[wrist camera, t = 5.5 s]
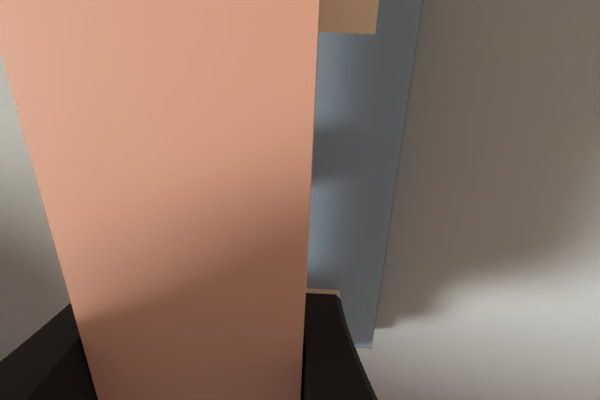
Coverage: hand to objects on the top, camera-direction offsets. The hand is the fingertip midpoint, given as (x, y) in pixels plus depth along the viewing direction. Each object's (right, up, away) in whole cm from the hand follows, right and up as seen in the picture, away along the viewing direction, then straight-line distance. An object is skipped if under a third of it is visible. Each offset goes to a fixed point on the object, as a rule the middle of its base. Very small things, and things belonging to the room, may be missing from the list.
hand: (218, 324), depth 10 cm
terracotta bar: (0, +2, +3) cm, 3 cm away
